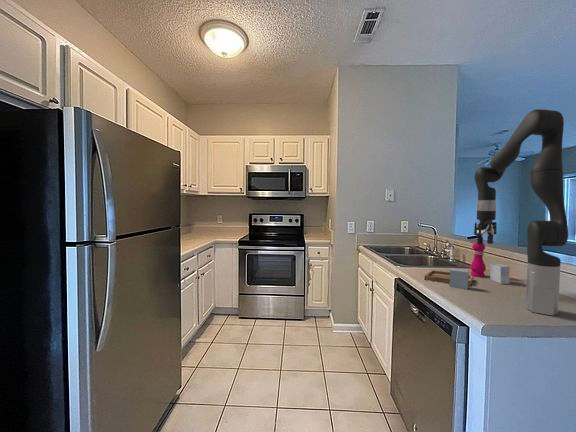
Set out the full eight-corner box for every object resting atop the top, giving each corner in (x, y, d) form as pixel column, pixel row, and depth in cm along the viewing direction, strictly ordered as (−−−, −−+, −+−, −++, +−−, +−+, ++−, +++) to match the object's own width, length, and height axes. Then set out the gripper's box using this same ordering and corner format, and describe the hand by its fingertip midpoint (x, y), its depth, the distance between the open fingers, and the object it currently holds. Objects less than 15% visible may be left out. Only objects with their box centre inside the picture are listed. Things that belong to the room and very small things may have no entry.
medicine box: (509, 284, 148) (510, 266, 148) (500, 284, 148) (501, 266, 148) (498, 280, 156) (499, 263, 155) (489, 280, 156) (490, 263, 156)
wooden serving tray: (469, 286, 143) (469, 281, 143) (424, 279, 155) (424, 275, 155) (473, 279, 156) (473, 275, 156) (431, 274, 168) (431, 270, 168)
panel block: (466, 289, 139) (467, 272, 138) (449, 286, 143) (450, 270, 142) (467, 287, 142) (468, 270, 142) (451, 284, 146) (451, 268, 146)
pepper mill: (470, 273, 169) (471, 238, 168) (485, 275, 165) (487, 239, 164) (469, 276, 164) (470, 239, 163) (485, 278, 159) (486, 240, 158)
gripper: (486, 210, 136) (484, 246, 136) (503, 210, 143) (501, 244, 143) (469, 209, 142) (468, 244, 143) (486, 209, 149) (485, 242, 150)
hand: (485, 244), depth 143 cm, fingers open, 8 cm apart
